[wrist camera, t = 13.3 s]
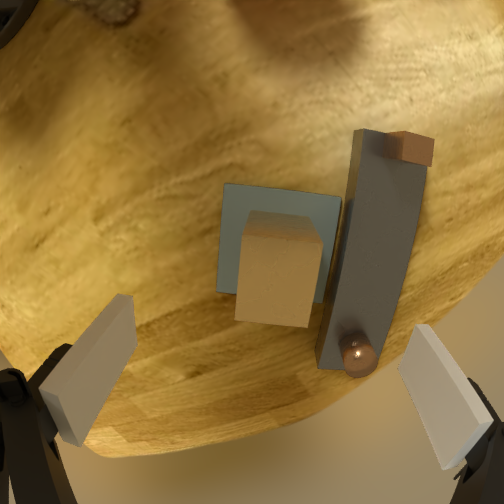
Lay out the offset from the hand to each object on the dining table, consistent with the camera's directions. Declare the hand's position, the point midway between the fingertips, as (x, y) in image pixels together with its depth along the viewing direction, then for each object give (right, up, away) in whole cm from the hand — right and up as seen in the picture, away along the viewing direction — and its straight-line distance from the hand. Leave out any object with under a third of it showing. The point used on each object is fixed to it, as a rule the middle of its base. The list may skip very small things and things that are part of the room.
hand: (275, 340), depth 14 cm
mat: (+1, +5, +15) cm, 15 cm away
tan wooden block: (+1, +4, +14) cm, 15 cm away
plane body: (+10, +4, +14) cm, 18 cm away
